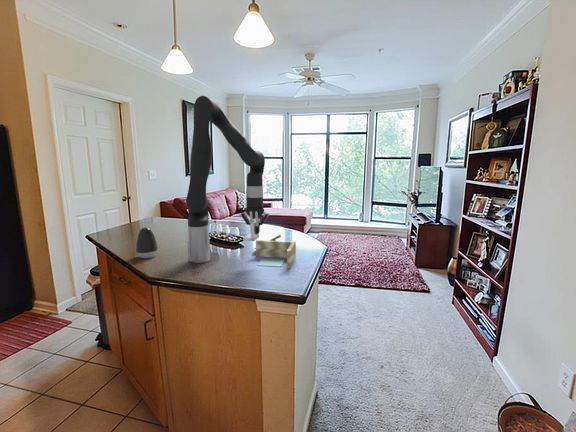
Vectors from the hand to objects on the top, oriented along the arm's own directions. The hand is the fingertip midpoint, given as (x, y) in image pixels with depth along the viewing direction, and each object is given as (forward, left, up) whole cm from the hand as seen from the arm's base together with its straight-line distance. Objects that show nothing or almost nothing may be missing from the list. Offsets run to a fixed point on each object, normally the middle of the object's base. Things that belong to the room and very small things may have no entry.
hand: (255, 233), depth 132 cm
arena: (+7, +4, -14) cm, 16 cm away
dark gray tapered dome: (-57, +2, -15) cm, 59 cm away
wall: (0, +24, -15) cm, 28 cm away
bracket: (-2, 0, -2) cm, 3 cm away
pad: (+7, +2, -14) cm, 16 cm away
